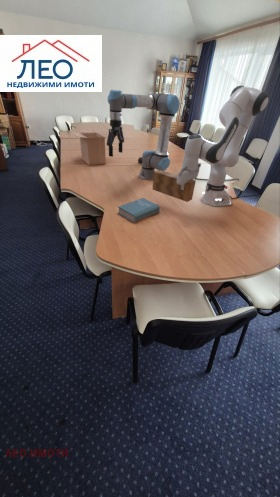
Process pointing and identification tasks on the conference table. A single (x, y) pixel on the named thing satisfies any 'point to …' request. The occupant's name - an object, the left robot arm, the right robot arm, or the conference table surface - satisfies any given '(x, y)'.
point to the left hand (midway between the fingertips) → (115, 154)
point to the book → (138, 209)
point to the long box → (172, 186)
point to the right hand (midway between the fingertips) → (185, 188)
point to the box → (92, 146)
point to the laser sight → (140, 160)
